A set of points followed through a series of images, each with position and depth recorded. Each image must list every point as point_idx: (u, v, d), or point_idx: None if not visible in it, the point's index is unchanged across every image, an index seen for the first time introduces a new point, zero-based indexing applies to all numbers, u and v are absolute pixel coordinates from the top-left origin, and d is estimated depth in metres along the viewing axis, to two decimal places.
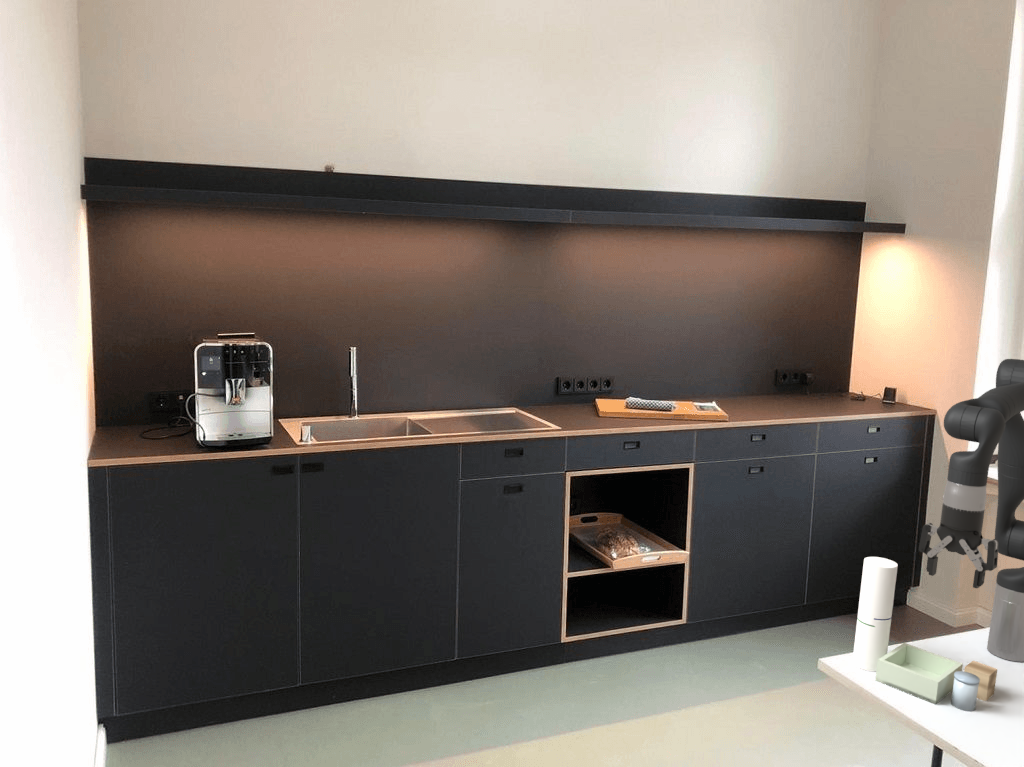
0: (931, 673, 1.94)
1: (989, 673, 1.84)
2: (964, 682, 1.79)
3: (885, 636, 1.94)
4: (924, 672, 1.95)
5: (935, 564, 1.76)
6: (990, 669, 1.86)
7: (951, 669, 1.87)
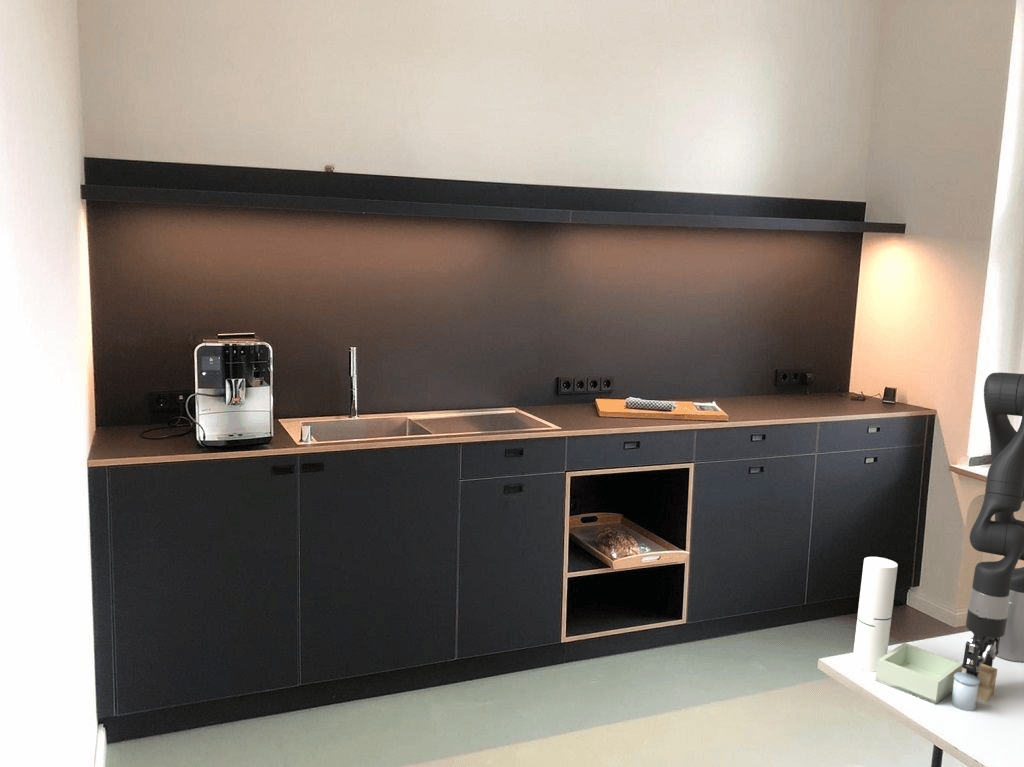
0: (931, 673, 1.94)
1: (989, 673, 1.84)
2: (964, 683, 1.79)
3: (885, 636, 1.94)
4: (924, 672, 1.95)
5: None
6: (990, 669, 1.86)
7: (951, 669, 1.87)
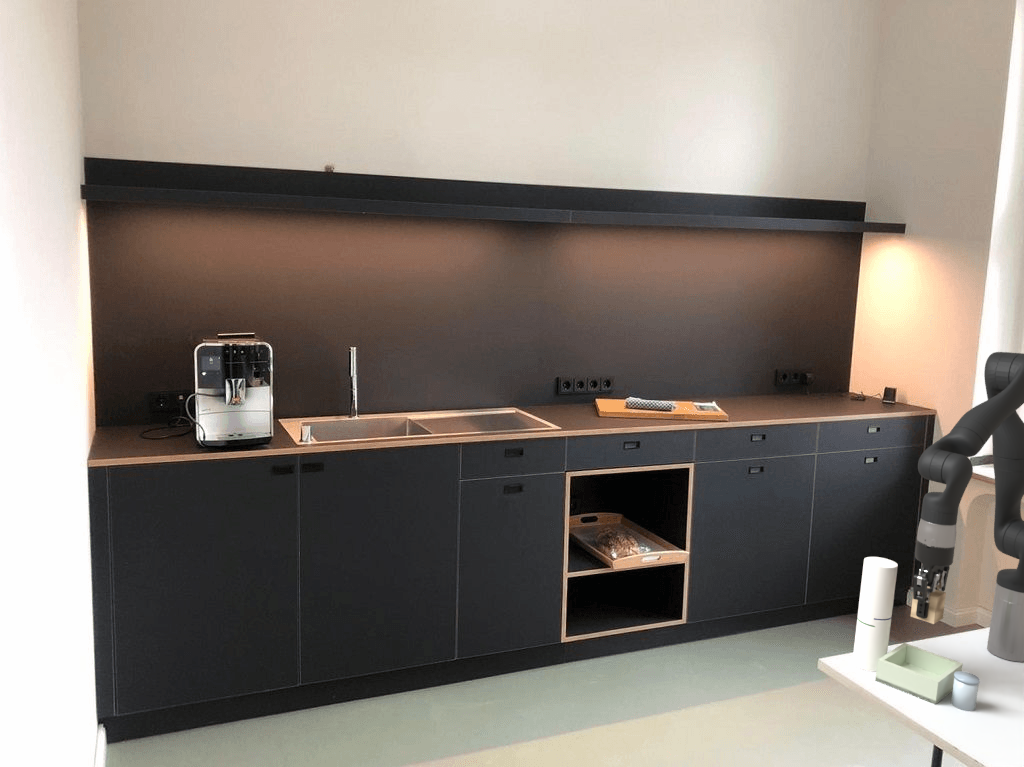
0: (931, 673, 1.94)
1: (937, 596, 1.86)
2: (964, 682, 1.79)
3: (885, 636, 1.94)
4: (924, 672, 1.95)
5: None
6: (938, 592, 1.88)
7: (951, 669, 1.87)
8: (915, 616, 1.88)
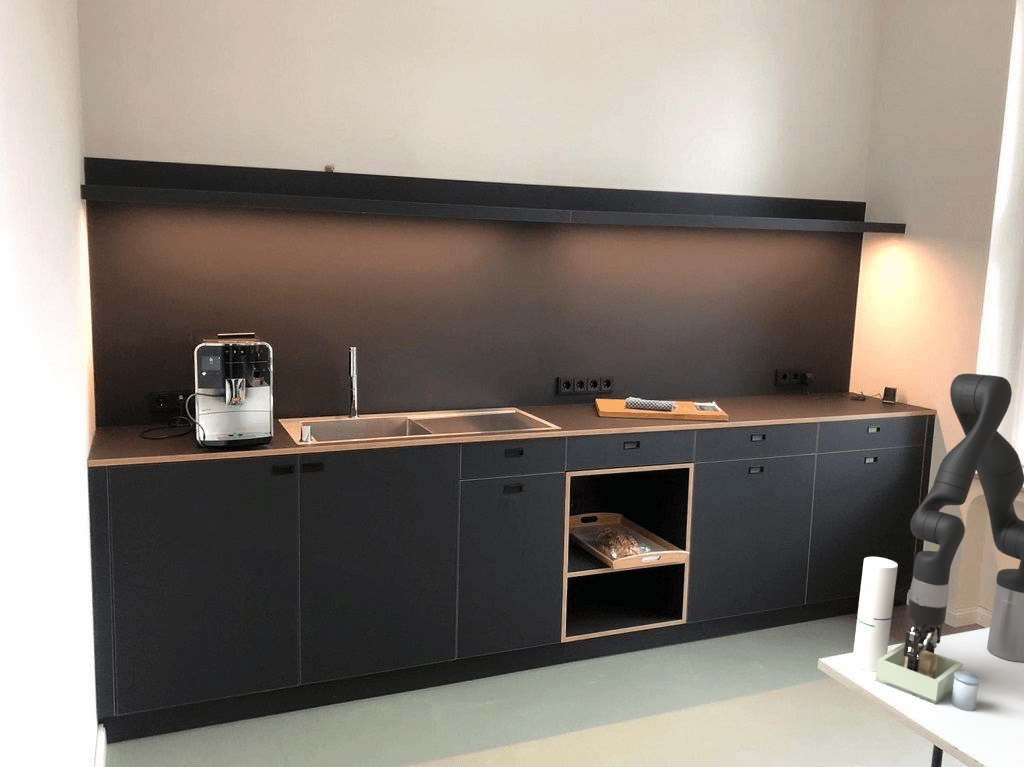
0: None
1: (929, 659, 1.88)
2: (964, 682, 1.79)
3: (885, 636, 1.94)
4: None
5: None
6: (931, 655, 1.90)
7: (951, 669, 1.87)
8: None
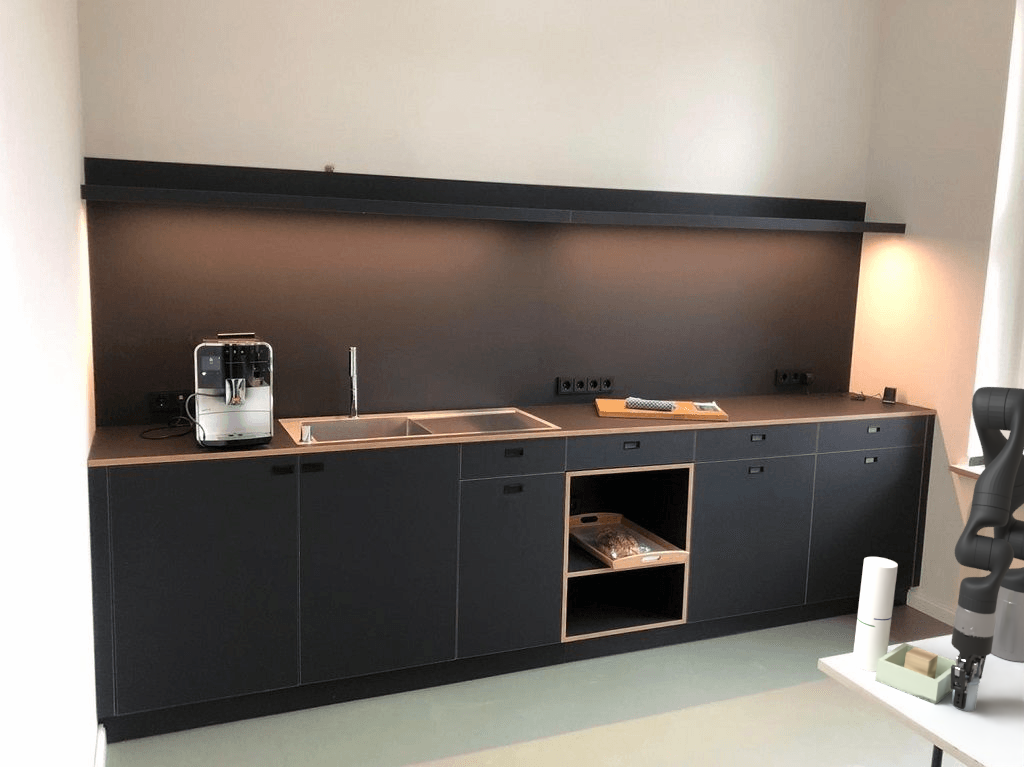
0: None
1: (929, 659, 1.88)
2: None
3: (885, 636, 1.94)
4: None
5: None
6: (931, 655, 1.90)
7: None
8: None
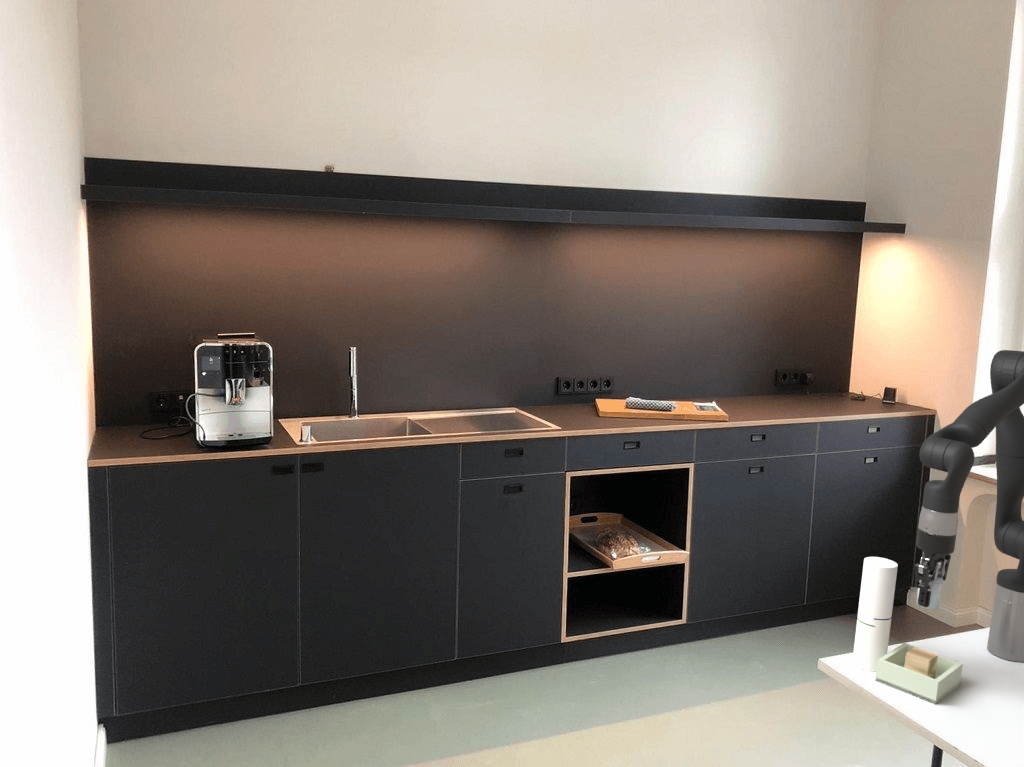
0: None
1: (929, 659, 1.88)
2: None
3: (885, 636, 1.94)
4: None
5: None
6: (931, 655, 1.90)
7: (951, 669, 1.87)
8: None
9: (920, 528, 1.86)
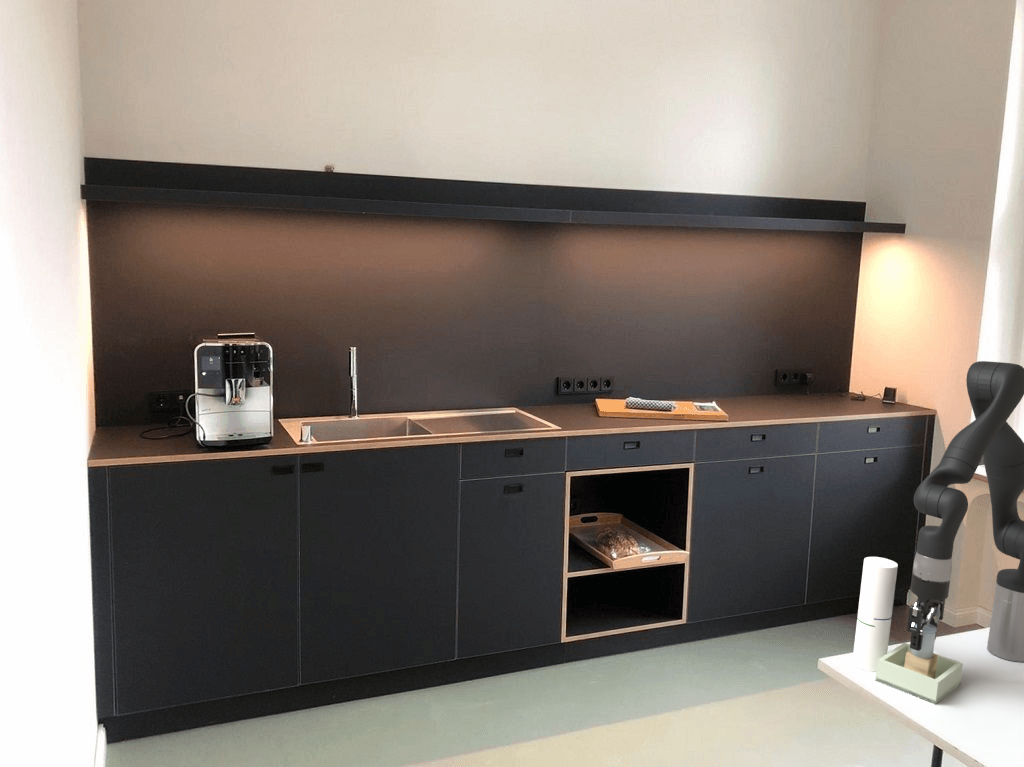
0: None
1: (929, 659, 1.88)
2: None
3: (885, 636, 1.94)
4: None
5: None
6: None
7: (951, 669, 1.87)
8: None
9: (914, 573, 1.87)
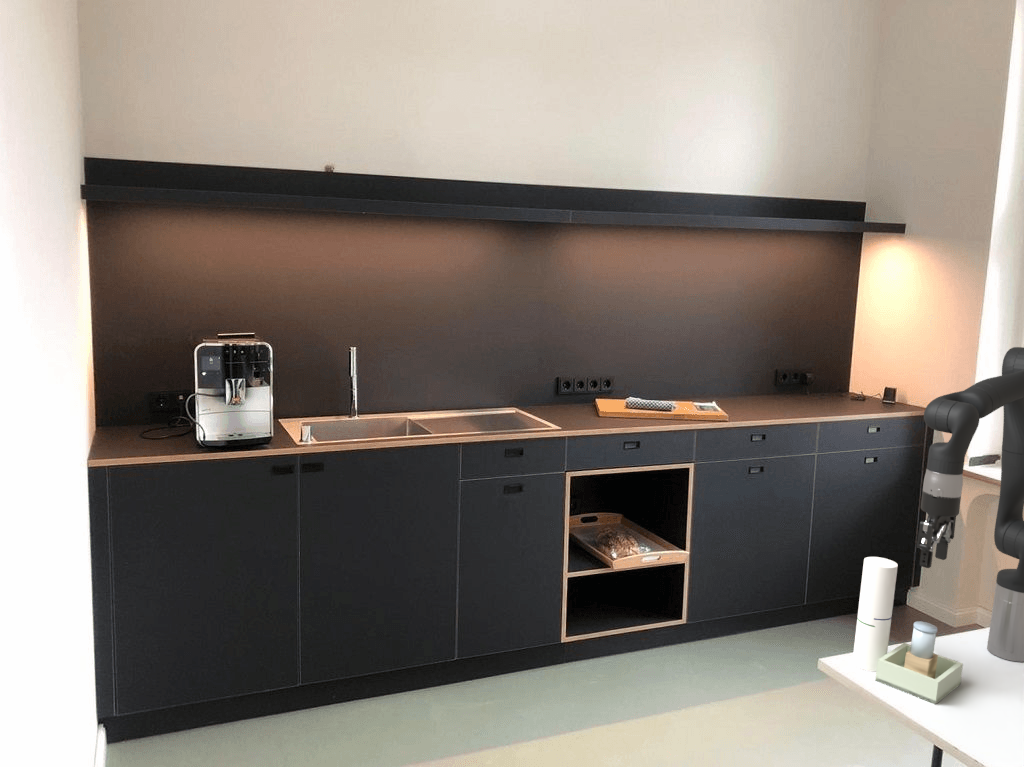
0: None
1: (929, 659, 1.88)
2: (923, 631, 1.87)
3: (885, 636, 1.94)
4: None
5: None
6: None
7: (951, 669, 1.87)
8: None
9: (924, 491, 1.85)
